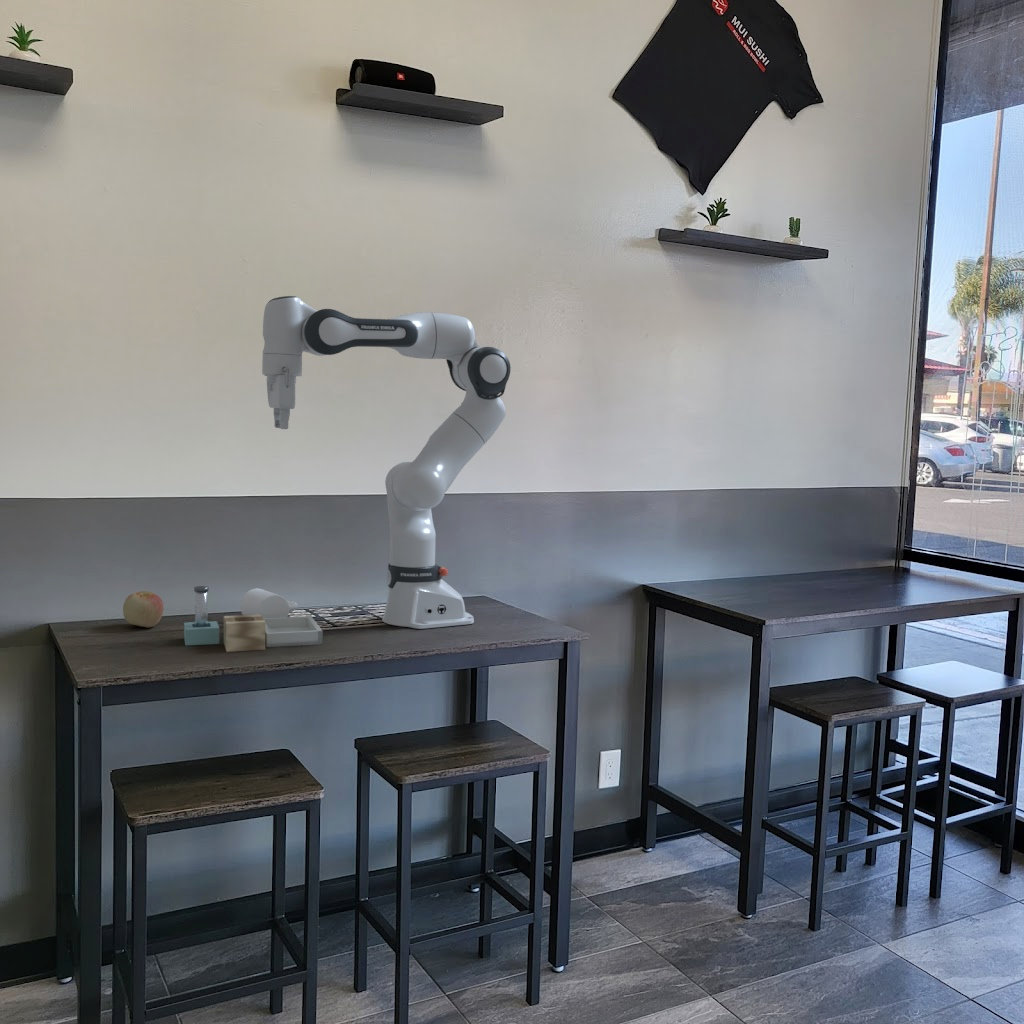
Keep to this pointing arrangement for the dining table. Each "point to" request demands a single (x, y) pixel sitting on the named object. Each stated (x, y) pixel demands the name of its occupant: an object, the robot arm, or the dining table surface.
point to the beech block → (244, 633)
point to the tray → (292, 631)
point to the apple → (143, 609)
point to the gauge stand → (201, 634)
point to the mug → (266, 604)
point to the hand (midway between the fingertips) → (281, 428)
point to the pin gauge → (201, 606)
